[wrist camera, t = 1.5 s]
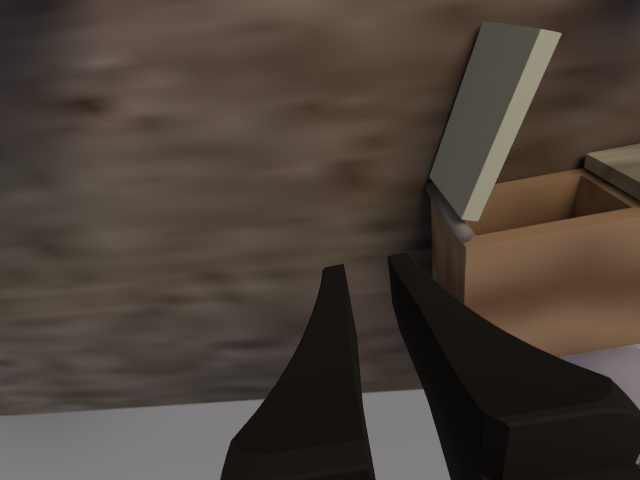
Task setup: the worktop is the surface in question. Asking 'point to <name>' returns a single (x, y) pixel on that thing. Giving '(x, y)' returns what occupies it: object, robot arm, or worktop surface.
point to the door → (487, 118)
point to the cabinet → (554, 256)
